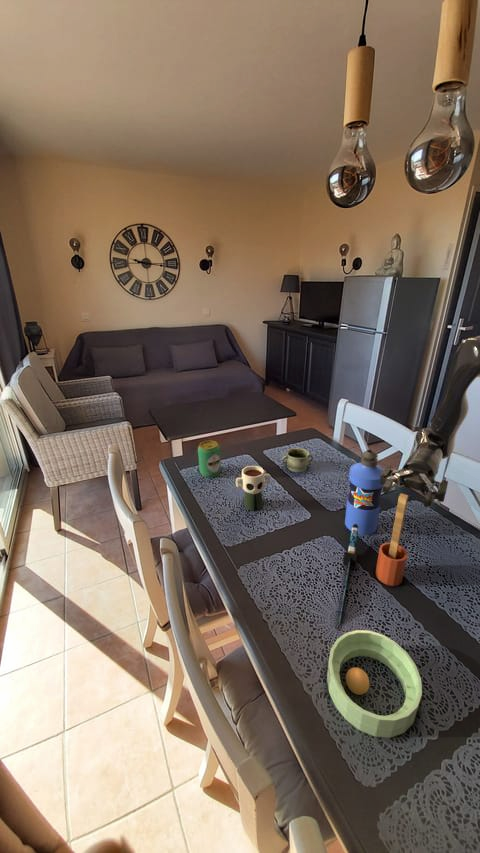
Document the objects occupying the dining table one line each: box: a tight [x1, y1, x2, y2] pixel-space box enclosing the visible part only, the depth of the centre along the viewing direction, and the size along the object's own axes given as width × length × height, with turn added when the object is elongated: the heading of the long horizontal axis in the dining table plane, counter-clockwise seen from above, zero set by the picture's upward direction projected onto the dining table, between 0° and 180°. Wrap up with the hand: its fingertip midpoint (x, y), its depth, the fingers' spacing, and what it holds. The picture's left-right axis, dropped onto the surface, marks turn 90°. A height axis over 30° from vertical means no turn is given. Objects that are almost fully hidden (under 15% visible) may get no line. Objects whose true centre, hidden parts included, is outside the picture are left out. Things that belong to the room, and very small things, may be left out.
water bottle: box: [344, 449, 385, 536], centre depth 102 cm, size 9×9×25 cm
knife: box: [338, 524, 359, 626], centre depth 88 cm, size 31×3×4 cm, turn 155°
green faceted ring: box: [326, 629, 423, 738], centre depth 64 cm, size 15×15×6 cm
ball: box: [345, 666, 370, 696], centre depth 64 cm, size 4×4×4 cm
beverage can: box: [197, 440, 222, 479], centre depth 134 cm, size 8×8×12 cm
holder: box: [375, 541, 408, 587], centre depth 86 cm, size 6×6×9 cm
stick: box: [388, 492, 409, 559], centre depth 83 cm, size 2×2×24 cm
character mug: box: [235, 465, 271, 511], centre depth 115 cm, size 11×7×13 cm, turn 101°
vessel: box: [281, 447, 314, 473], centre depth 138 cm, size 12×9×6 cm
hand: (405, 497), depth 81 cm, fingers open, 8 cm apart
